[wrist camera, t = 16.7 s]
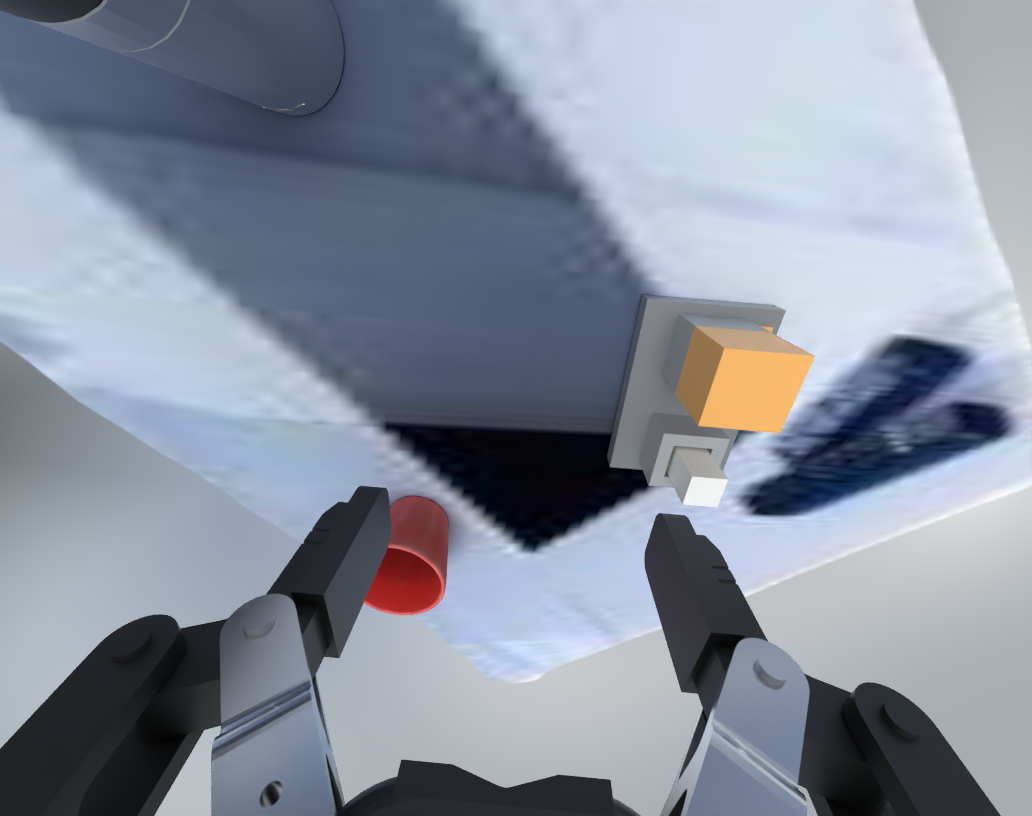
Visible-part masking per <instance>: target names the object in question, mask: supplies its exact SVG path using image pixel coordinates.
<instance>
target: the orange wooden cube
mask: <svg viewBox="0 0 1032 816" xmlns="http://www.w3.org/2000/svg"><path fill="white" fill-rule="evenodd" d="M814 357H815V356H814V355H812V354H810V353H808V352H806V351H805V350H803V349H801V348H799V347H797V346H795V345H793V344H791V343H790V342H788V341H786V340H784V339H782V338H780V337H778V336H777V335H775V334H773V333H771V332H761V331H749V330H738V329H726V328H714V327H703V326H694V330H693V333H692V337H691V340H690V343H689V347H688V350H687V354H686V357H685V360H684V364H683V367H682V371H681V374H680V378H679V381H678V384H677V388H676V391H675V395H676V396H677V398H678V399H679V401H680V402H681V403H682V405H683V406H684V407H685V409H686V410H687V411H688V413H689V414H690V416H691V417H692V418H693V420H694V421H695V422H696V424H697V425H698V426H705V427H716V428H727V429H739V430H750V431H761V432H772V433H780V431H781V429H782V427H783V425H784V423H785V420H786V418H787V416H788V414H789V412H790V410H791V407H792V405H793V403H794V401H795V399H796V396H797V394H798V392H799V390H800V388H801V385H802V383H803V381H804V379H805V377H806V375H807V372H808V370H809V368H810V366H811V364H812V361H813V359H814Z"/></svg>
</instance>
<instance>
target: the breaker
mask: <svg viewBox="0 0 1032 816" xmlns="http://www.w3.org/2000/svg"><path fill="white" fill-rule="evenodd" d="M666 471H667V473H668V475H669V477H670V480H671V482H672V484H673V486H674V488H675V490H676V492H677V494H678V496H679V498H680V500H681V502H682V504H686V505H697V506H709V507H717V506H718V504H719V501H720V499H721V497H722V494H723V492H724V489H725V487H726V484H727V482H728V478H727V477H726V476H725V474H724V473H723V471H722V470H721V468H720V467H719V466H718V464H717V463H716V461H715V460H714V458H713V457H712V456H711V454H710V453H709V451H708V450H707V448H696V447H684V446H674V447H673V450H672V453H671V456H670V460H669V463H668V466H667V469H666Z"/></svg>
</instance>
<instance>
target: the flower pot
mask: <svg viewBox="0 0 1032 816" xmlns="http://www.w3.org/2000/svg"><path fill="white" fill-rule="evenodd" d="M390 515H391V525H392V531H391V538H390V542H389V546H388V548H387V551H386V553H385V555H384V557H383V560H382V562H381V564H380V567H379V569H378V571H377V573H376V576H375V578H374V580H373V582H372V585H371V587H370V589H369V591H368V594H367V596H366V598H365V601H364V603H365V604H367V605H369V606H370V607H372V608H374V609H376V610H379V611H382V612H386V613H390V614H396V615H414V614H419V613H423V612H426V611H428V610H430V609H432V608H433V607H435V606H436V605H437V604H438V603H439V602H440V601H441V599H442V598H443V596H444V593H445V588H446V576H447V555H448V518H447V515H446V513H445V512H444V510H443V509H442V508H441V507H440V506H439V505H438V504H437V503H434V502H432V501H431V500H429V499H427V498H424V497H419V496H409V497H404V498H401V499H399V500H397V501H396V502H395V503H393V505H392V506H391V507H390Z"/></svg>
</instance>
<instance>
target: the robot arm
mask: <svg viewBox="0 0 1032 816" xmlns="http://www.w3.org/2000/svg"><path fill="white" fill-rule="evenodd" d="M0 10H2V11H4V12H7V13H10V14H13V15H15V16H18V17H21V18H24V19H26V20H29V21H32V22H35V23H37V24H40V25H43V26H45V27H48V28H51V29H54V30H56V31H59V32H62V33H64V34H67V35H70V36H73V37H75V38H78V39H81V40H83V41H86V42H89V43H92V44H95V45H97V46H100V47H103V48H105V49H108V50H111V51H114V52H116V53H119V54H122V55H124V56H127V57H130V58H133V59H135V60H138V61H141V62H143V63H146V64H149V65H151V66H154V67H157V68H160V69H162V70H165V71H168V72H170V73H173V74H176V75H179V76H181V77H184V78H187V79H189V80H192V81H195V82H197V83H200V84H203V85H206V86H208V87H211V88H214V89H216V90H219V91H222V92H225V93H227V94H230V95H233V96H235V97H238V98H241V99H244V100H246V101H249V102H252V103H254V104H256V105H259V106H261V107H263V108H266V109H270V110H273V111H276V112H279V113H282V114H287V115H292V116H299V115H307V114H310V113H313V112H316V111H317V110H319V109H320V108H322V107H323V106H324V105H326V104H327V102H328V101H329V100H330V99H331V97H332V96H333V95H334V93H335V91H336V89H337V87H338V84H339V82H340V78H341V74H342V70H343V59H344V47H343V38H342V31H341V28H340V24H339V20H338V16H337V14H336V11H335V9H334V7H333V4H332V2H331V0H0ZM391 531H392V525H391V515H390V506H389V496H388V491H387V489H386V488H379V487H368V486H360V487H358V488H357V490H356V491H355V493H354V494H353V496H352V497H351V499H350V501H349V502H348V503H345V502H338V503H337V504H335V505H334V506H333V507H331V508H330V509H329V510H327V511H326V512H325V513H323V514H322V516H321V517H320V519H319V520H318V522H317V523H316V524H315V526H314V527H313V530H312V532H310V533H309V534H308V536H307V537H306V539H305V540H304V544H301V546H300V547H299V549H298V550H297V551H296V553H295V554H294V556H293V557H292V559H291V560H290V562H289V563H288V564H287V566H286V567H285V569H284V570H283V571H282V573H281V574H280V576H279V577H278V579H277V580H276V581H275V583H274V584H273V586H272V587H271V589H270V590H269V591H268V593H267V594H266V595H263V596H260V597H257V598H255V599H253V600H251V601H249V602H247V603H245V604H244V605H242V606H241V607H240V608H238V609H237V610H236V611H235V612H234V613H233V614H232V615H231V616H230V617H229V618H228V619H225V620H221V621H216V622H211V623H206V624H201V625H196V626H191V627H186V628H181V629H180V627H179V626H178V623H177V622H176V621H175V619H174V618H172V617H171V616H168V615H151V616H147V617H143V618H140V619H137V620H134V621H132V622H130V623H128V624H126V625H124V626H122V627H121V628H119V629H117V630H116V631H114V632H113V633H111V634H110V635H109V636H108V637H106V638H105V639H104V640H103V641H102V642H101V643H100V644H99V645H98V646H97V647H96V648H95V649H94V650H93V651H92V652H91V653H90V654H89V655H88V656H87V657H86V658H85V659H84V660H83V661H82V663H81V664H80V665H79V666H78V667H77V668H76V669H75V670H74V671H73V672H72V673H71V674H70V675H69V676H68V677H67V678H66V680H65V681H64V682H63V683H62V684H61V685H60V686H59V687H58V688H57V689H56V690H55V691H54V692H53V693H52V694H51V695H50V696H49V698H48V699H47V700H46V701H45V702H44V703H43V704H42V705H41V706H40V707H39V708H38V709H37V710H36V711H35V712H34V713H33V715H32V716H31V717H30V718H29V719H28V720H27V721H26V722H25V723H24V724H23V725H22V726H21V727H20V728H19V729H18V731H17V732H16V733H15V734H14V735H13V736H12V737H11V738H10V739H9V740H8V741H7V742H6V743H5V744H4V746H3V747H2V748H1V749H0V816H154V815H155V813H156V812H157V810H158V808H159V806H160V805H161V803H162V801H163V800H164V798H165V796H166V794H167V793H168V791H169V789H170V788H171V786H172V784H173V783H174V781H175V779H176V777H177V776H178V774H179V772H180V770H181V769H182V767H183V765H184V764H185V762H186V760H187V759H188V757H189V755H190V753H191V752H192V750H193V748H194V747H195V745H196V743H197V741H198V740H199V738H200V736H201V735H202V733H203V731H204V730H206V729H209V728H213V727H217V726H221V733H220V735H219V736H217V737H216V738H215V739H214V742H213V746H212V756H211V783H212V784H211V816H640V815H639V814H637V813H636V812H635V811H634V810H632V809H631V808H629V807H628V806H626V805H625V804H623V803H621V802H620V801H618V800H616V799H614V798H613V796H612V788H611V781H610V780H606V779H597V778H586V777H575V776H565V775H556V776H552V777H549V778H545V779H541V780H537V781H533V782H529V783H525V784H521V785H517V786H514V787H509V788H504V787H500V786H497V785H495V784H493V783H491V782H489V781H487V780H485V779H482V778H480V777H478V776H476V775H474V774H472V773H470V772H467V771H465V770H463V769H461V768H459V767H457V766H455V765H451V764H442V763H432V762H421V761H410V760H401V764H400V768H399V772H398V776H397V777H394V778H390V779H387V780H385V781H383V782H380V783H378V784H376V785H374V786H372V787H370V788H368V789H366V790H365V791H363V792H361V793H360V794H359V795H357V796H356V797H354V798H353V799H352V800H350V801H349V802H348V803H347V804H345V802H344V797H343V793H342V789H341V784H340V780H339V776H338V772H337V768H336V764H335V760H334V756H333V751H332V747H331V742H330V738H329V734H328V729H327V724H326V719H325V715H324V709H323V705H322V700H321V695H320V691H319V686H318V681H317V677H316V672H317V670H318V668H319V666H320V664H321V662H322V660H323V658H324V657H334V658H339V657H340V655H341V653H342V650H343V648H344V646H345V643H346V641H347V639H348V637H349V635H350V632H351V630H352V628H353V625H354V623H355V621H356V618H357V616H358V614H359V612H360V609H361V607H362V605H363V603H364V601H365V598H366V596H367V594H368V591H369V589H370V587H371V585H372V582H373V580H374V578H375V576H376V573H377V571H378V569H379V567H380V564H381V562H382V560H383V557H384V555H385V553H386V551H387V548H388V546H389V542H390V538H391ZM645 570H646V574H647V577H648V581H649V584H650V587H651V591H652V594H653V598H654V601H655V604H656V608H657V611H658V614H659V618H660V621H661V624H662V628H663V631H664V634H665V638H666V641H667V645H668V648H669V651H670V655H671V658H672V661H673V665H674V668H675V672H676V675H677V678H678V682H679V685H680V688H681V691H682V692H687V693H697V694H698V695H699V698H700V701H701V704H702V708H701V710H700V712H699V715H698V717H697V720H696V723H695V726H694V729H693V732H692V735H691V737H690V740H689V743H688V745H687V748H686V751H685V754H684V756H683V759H682V762H681V765H680V768H679V770H678V773H677V776H676V779H675V782H674V784H673V787H672V789H671V791H670V794H669V796H668V798H667V800H666V803H665V805H664V807H663V809H662V812H661V814H660V816H807V801H806V798H805V796H804V794H802V793H801V792H800V791H799V790H798V785H800V786H802V787H804V788H806V789H807V791H808V793H809V795H810V798H811V800H812V803H813V805H814V807H815V810H816V812H817V814H818V816H1000V814H999V813H998V811H997V810H996V809H995V807H994V806H993V804H992V803H991V802H990V800H989V799H988V797H987V796H986V795H985V793H984V792H983V791H982V789H981V788H980V786H979V785H978V784H977V782H976V781H975V780H974V778H973V777H972V775H971V774H970V772H969V771H968V770H967V768H966V767H965V766H964V764H963V763H962V761H961V760H960V759H959V757H958V756H957V754H956V753H955V752H954V750H953V749H952V747H951V746H950V745H949V743H948V742H947V741H946V739H945V738H944V736H943V735H942V734H941V732H940V731H939V729H938V728H937V727H936V725H935V724H934V723H933V722H932V721H931V719H929V717H928V716H927V715H926V714H925V713H924V712H923V711H922V710H921V709H920V708H919V707H917V706H916V705H915V704H914V703H913V702H911V701H910V700H909V699H907V698H906V697H905V696H903V695H901V694H900V693H898V692H896V691H895V690H893V689H891V688H889V687H886V686H883V685H881V684H877V683H869V682H868V683H862V684H860V685H859V686H858V687H857V688H856V689H855V690H854V691H853V692H852V693H850V692H848V691H845V690H843V689H840V688H838V687H835V686H833V685H830V684H827V683H825V682H822V681H820V680H817V679H815V678H812V677H810V676H808V675H806V674H804V673H803V671H802V670H801V668H800V667H799V665H798V664H797V663H796V662H795V661H794V660H793V659H792V658H791V657H790V656H789V655H788V654H787V653H786V652H785V651H783V650H782V649H780V648H779V647H777V646H776V645H774V644H772V643H770V642H768V640H767V639H766V637H765V635H764V633H763V631H762V629H761V628H760V626H759V624H758V622H757V620H756V618H755V616H754V615H753V612H752V611H751V609H750V607H749V605H748V603H747V601H746V599H745V597H744V595H743V594H742V592H741V590H740V588H739V586H738V585H737V584H736V580H735V579H734V577H733V575H732V573H731V571H730V570H728V565H727V563H726V562H725V560H724V558H723V556H722V554H721V552H720V550H719V549H718V548H717V547H716V546H715V545H714V544H713V543H712V542H711V541H710V540H709V539H708V538H707V537H706V536H704V535H696V533H695V531H694V529H693V527H692V525H691V523H690V521H689V519H688V518H687V517H686V516H684V515H673V514H662V513H659V514H658V515H657V516H656V518H655V521H654V525H653V528H652V531H651V534H650V537H649V540H648V544H647V547H646V550H645Z"/></svg>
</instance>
